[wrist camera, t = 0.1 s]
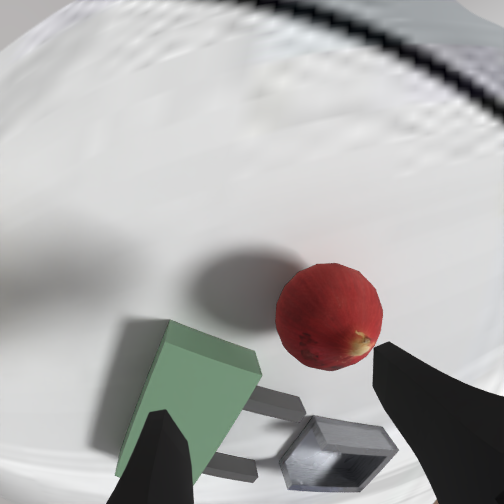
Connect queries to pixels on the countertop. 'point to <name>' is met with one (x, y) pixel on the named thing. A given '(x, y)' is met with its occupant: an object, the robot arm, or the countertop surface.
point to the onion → (329, 316)
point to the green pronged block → (206, 399)
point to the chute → (336, 456)
